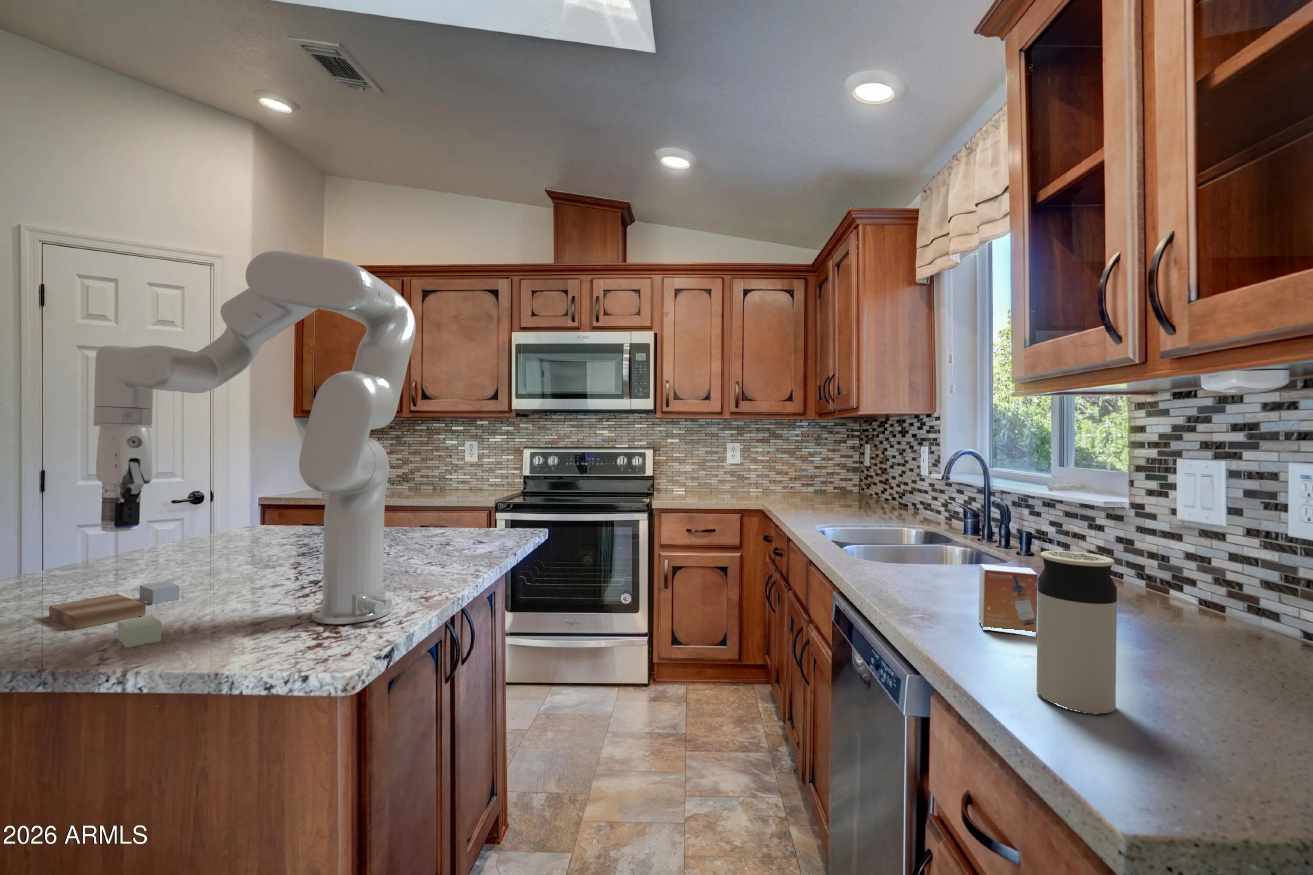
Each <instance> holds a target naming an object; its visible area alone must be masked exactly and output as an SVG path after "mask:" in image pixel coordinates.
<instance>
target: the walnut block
mask: <svg viewBox="0 0 1313 875" xmlns="http://www.w3.org/2000/svg"><path fill="white" fill-rule="evenodd" d="M146 604H147V603H145V602H142V601H138V600H135V599H133V598H130V597H127V596H124V595H121V594H118V593H116V594H109V595H105V596H104V595H103V596H99V597H93V598H87V599H86V598H85V599H81V600H75V601H70V602H64V603H57V604H52V605H49V607H48V618H49V619H51V620H53V621H55V622H58V623H60V624H62V625H64V626H66V627H68V628H70V629H71V630H81V629H85V628H89V627H90V628H91V627H96V626H100V625H105V623H106V624H110V623H109V622H111V623H116V622H118V621H120V620H126V619H131V618H137V617H139V616H141V617H143V615H145V616H146V607H147V606H146ZM95 625H96V626H95Z"/></svg>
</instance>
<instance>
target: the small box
mask: <svg viewBox="0 0 1313 875" xmlns="http://www.w3.org/2000/svg"><path fill="white" fill-rule="evenodd" d="M1038 577H1039V576H1038V573H1036V572H1035V571H1034V570H1033V569H1032V568H1031V567H1021V566H1020V567H1017V566H1005V565H993V564H986V563H979V579H978V580H979V581H978V582H979V585H978V586H979V587H978V588H979V590H978V594H979V595H978V596H979V597H978V618H979V620H980V622H981V624H982V626H983V627H991V628H992V627H993V628H1002V629H1014V630H1025V631H1032V632H1037V613H1038ZM979 620H978V621H979Z"/></svg>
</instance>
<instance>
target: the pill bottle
mask: <svg viewBox="0 0 1313 875" xmlns="http://www.w3.org/2000/svg"><path fill="white" fill-rule="evenodd" d="M130 483H131V482H122V484H130ZM123 489H124V492H125V490H126V488H123ZM106 490H108V491H107V492H106V493H104V494H103V497H102V496H101V514H102V522H101V523H100V524H101V527H100V528H101V531H102V532H109V533H115V532H116V533H118V532H119V533H120V532H121V533H122V532H129V531H136V530H137V529H139V524H138V525H134V526H123V527H116V526H114V513H115V503H118V499H117V486H116V485H113V484H110V483H106Z"/></svg>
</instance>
